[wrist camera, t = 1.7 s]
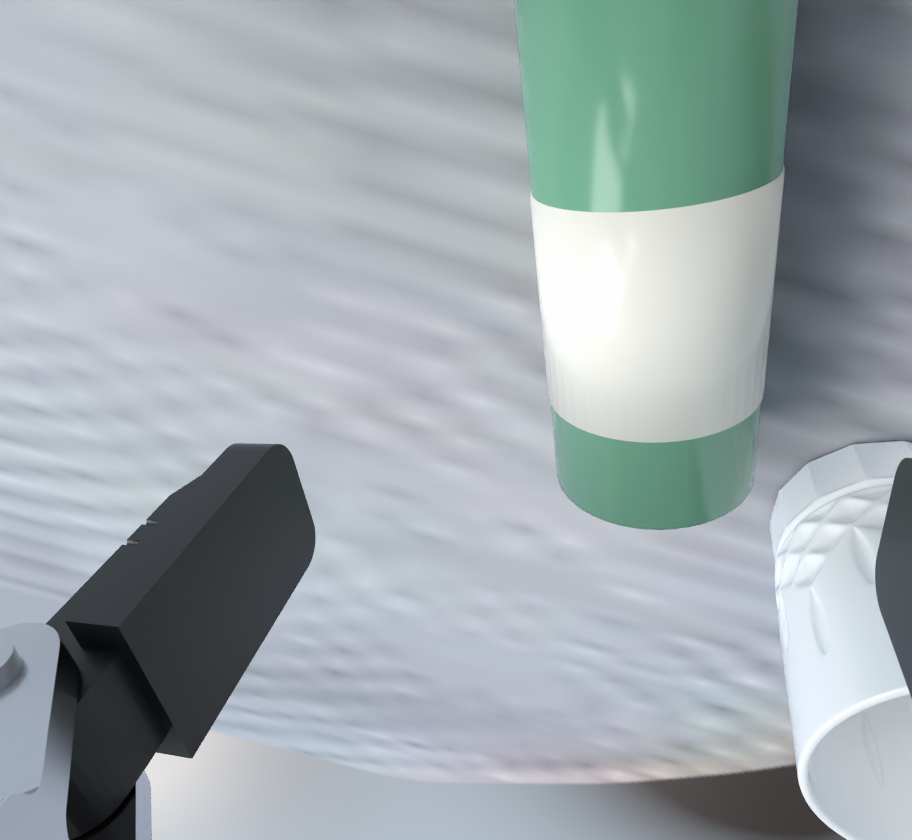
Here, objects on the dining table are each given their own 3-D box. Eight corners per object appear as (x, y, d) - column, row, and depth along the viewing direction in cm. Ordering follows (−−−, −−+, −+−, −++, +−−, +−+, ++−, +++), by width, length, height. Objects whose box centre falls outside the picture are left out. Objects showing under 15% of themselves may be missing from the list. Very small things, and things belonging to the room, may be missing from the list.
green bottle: (457, -343, 14) (501, -561, 9) (741, -394, 14) (951, -638, 9) (538, 434, 24) (582, 547, 19) (706, 404, 24) (795, 508, 19)
